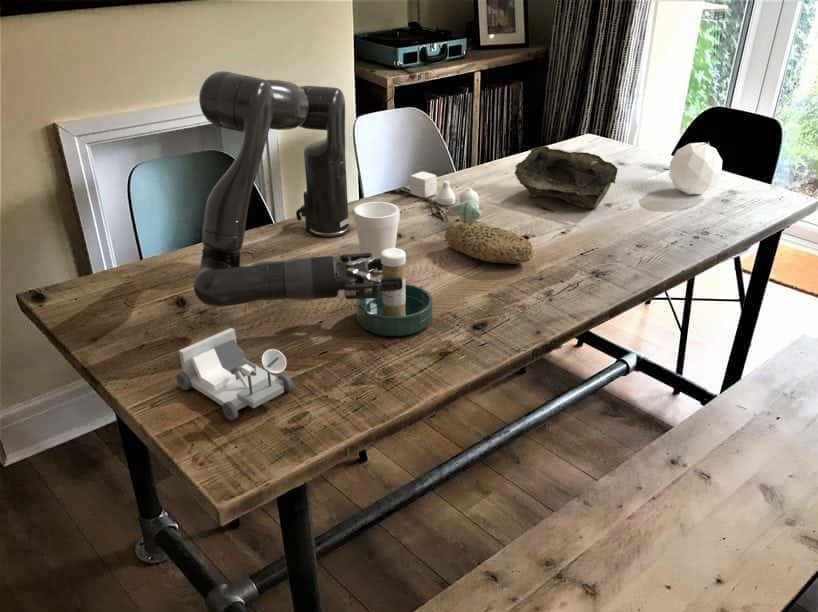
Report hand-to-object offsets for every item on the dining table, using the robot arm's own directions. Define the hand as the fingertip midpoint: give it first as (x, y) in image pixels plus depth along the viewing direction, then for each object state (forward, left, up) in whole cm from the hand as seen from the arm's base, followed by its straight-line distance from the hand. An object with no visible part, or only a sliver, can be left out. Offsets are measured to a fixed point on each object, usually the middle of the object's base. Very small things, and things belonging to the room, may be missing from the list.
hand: (399, 273), depth 146 cm
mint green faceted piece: (-3, +50, -10) cm, 51 cm away
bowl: (-1, -1, -10) cm, 10 cm away
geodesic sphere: (+46, +98, -10) cm, 108 cm away
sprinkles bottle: (-1, -1, -9) cm, 9 cm away
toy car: (-15, -32, -10) cm, 37 cm away
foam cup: (-14, +21, -10) cm, 27 cm away
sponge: (+7, +34, -10) cm, 37 cm away
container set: (-14, +64, -10) cm, 66 cm away
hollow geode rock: (+15, +75, -10) cm, 78 cm away
